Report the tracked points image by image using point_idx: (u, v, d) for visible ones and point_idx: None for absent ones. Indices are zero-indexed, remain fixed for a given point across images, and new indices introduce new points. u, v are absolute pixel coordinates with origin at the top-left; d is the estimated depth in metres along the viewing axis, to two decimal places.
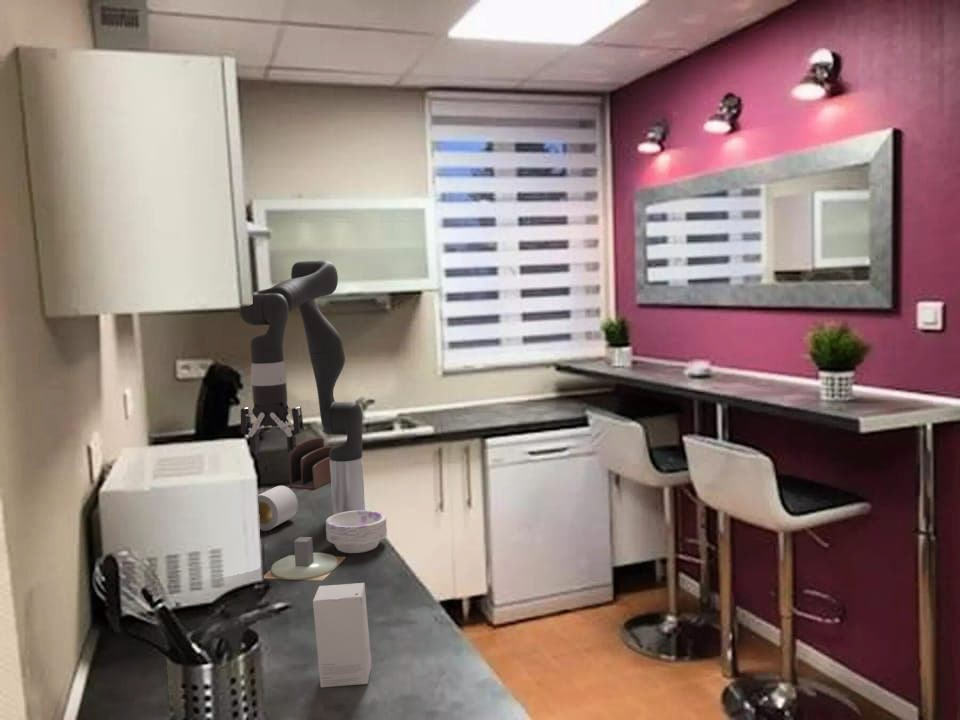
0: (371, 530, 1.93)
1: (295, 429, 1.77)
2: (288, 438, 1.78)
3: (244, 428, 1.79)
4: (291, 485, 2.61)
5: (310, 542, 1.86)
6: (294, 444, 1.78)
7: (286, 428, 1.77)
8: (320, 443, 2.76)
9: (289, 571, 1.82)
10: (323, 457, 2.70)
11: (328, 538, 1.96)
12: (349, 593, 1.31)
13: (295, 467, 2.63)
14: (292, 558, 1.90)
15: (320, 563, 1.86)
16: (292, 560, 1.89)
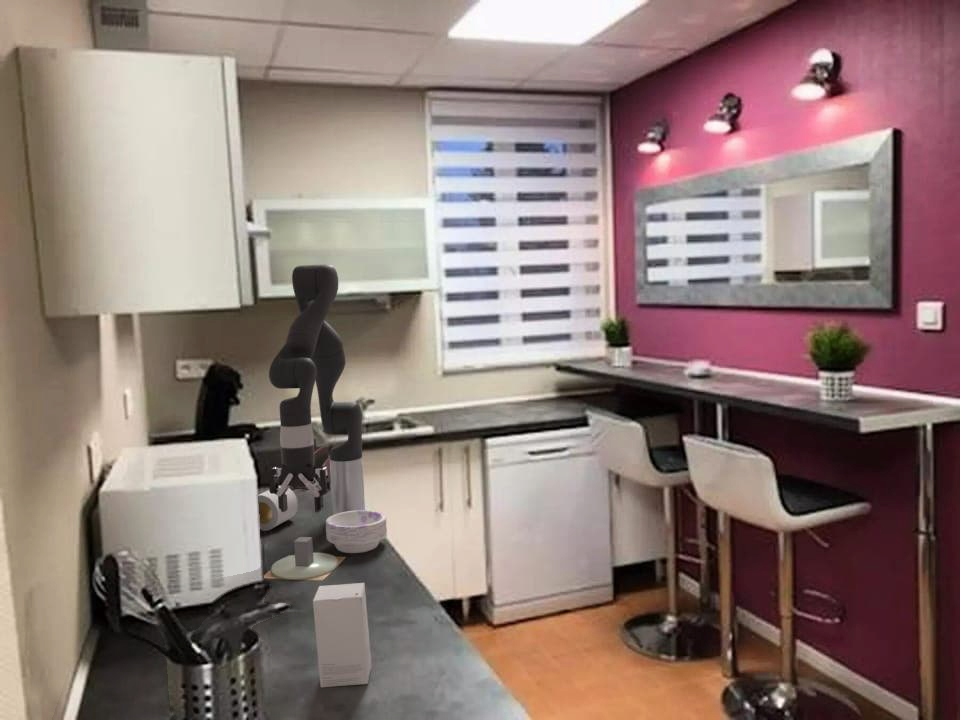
0: (371, 530, 1.93)
1: (322, 490, 1.82)
2: (315, 498, 1.82)
3: (272, 488, 1.84)
4: (298, 486, 2.60)
5: (310, 542, 1.86)
6: (321, 504, 1.83)
7: (313, 489, 1.82)
8: (314, 443, 2.76)
9: (289, 571, 1.82)
10: (322, 457, 2.71)
11: (328, 538, 1.96)
12: (349, 593, 1.31)
13: None
14: (292, 558, 1.90)
15: (320, 563, 1.86)
16: (292, 560, 1.89)
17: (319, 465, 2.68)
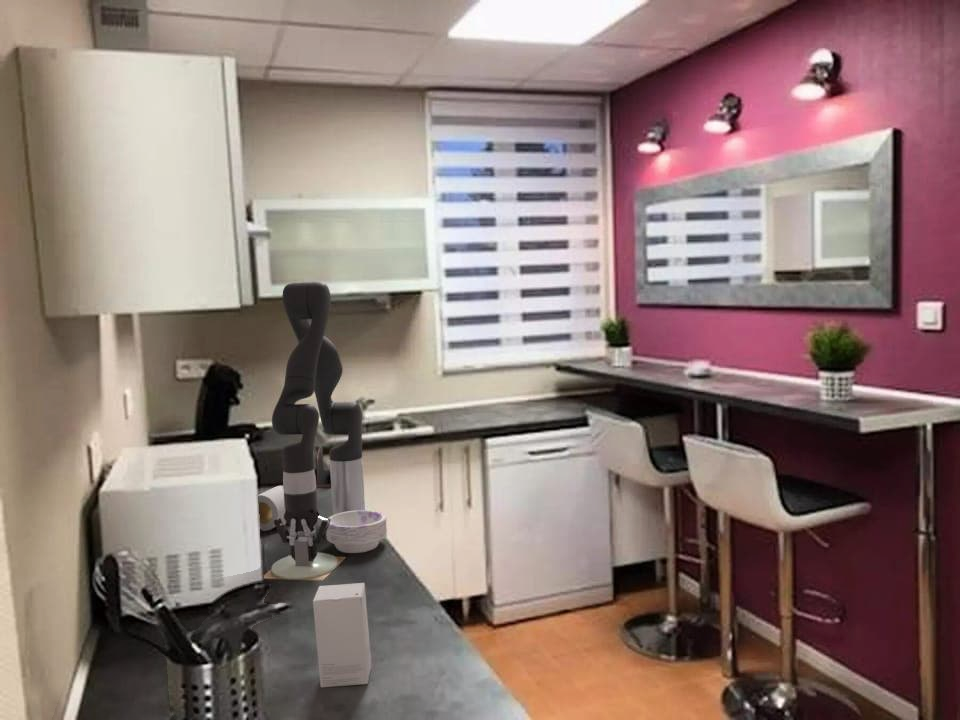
0: (371, 530, 1.93)
1: (317, 539, 1.83)
2: (309, 547, 1.84)
3: (285, 537, 1.85)
4: None
5: None
6: (315, 553, 1.85)
7: (309, 537, 1.84)
8: None
9: (289, 571, 1.82)
10: (320, 457, 2.71)
11: (328, 538, 1.96)
12: (349, 593, 1.31)
13: None
14: (292, 558, 1.90)
15: (320, 563, 1.86)
16: (292, 560, 1.89)
17: (320, 465, 2.68)
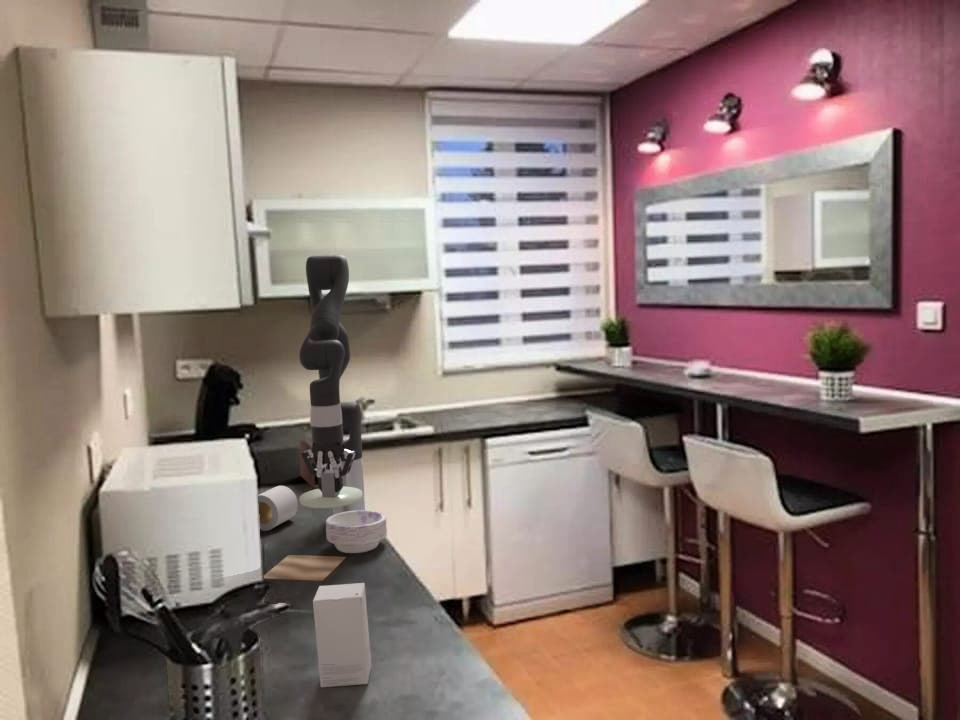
0: (371, 530, 1.93)
1: (343, 470, 1.90)
2: (335, 479, 1.91)
3: (312, 469, 1.92)
4: (315, 486, 2.59)
5: None
6: (341, 484, 1.92)
7: (336, 469, 1.90)
8: None
9: (316, 501, 1.88)
10: None
11: (328, 538, 1.96)
12: (349, 593, 1.31)
13: None
14: (319, 491, 1.97)
15: (346, 494, 1.93)
16: (319, 492, 1.95)
17: None
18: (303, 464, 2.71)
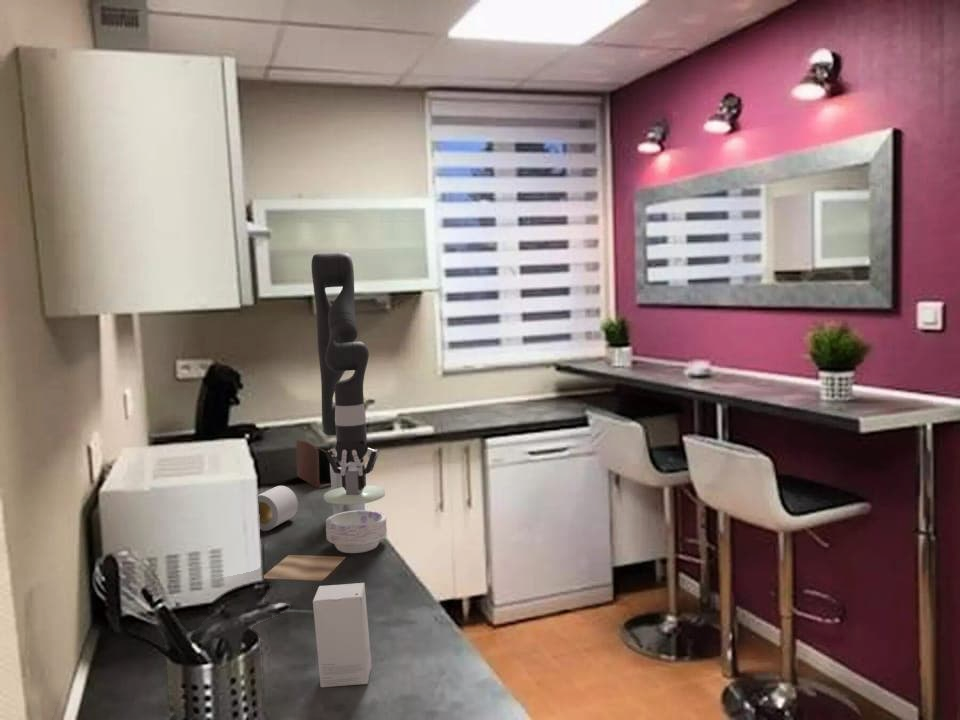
0: (371, 530, 1.93)
1: (366, 468, 1.96)
2: (359, 477, 1.97)
3: (337, 468, 1.97)
4: (320, 486, 2.59)
5: None
6: (364, 482, 1.97)
7: (359, 467, 1.96)
8: None
9: (341, 498, 1.94)
10: None
11: (328, 538, 1.96)
12: (349, 593, 1.31)
13: None
14: (342, 489, 2.02)
15: (369, 492, 1.98)
16: (342, 491, 2.01)
17: None
18: (302, 465, 2.70)
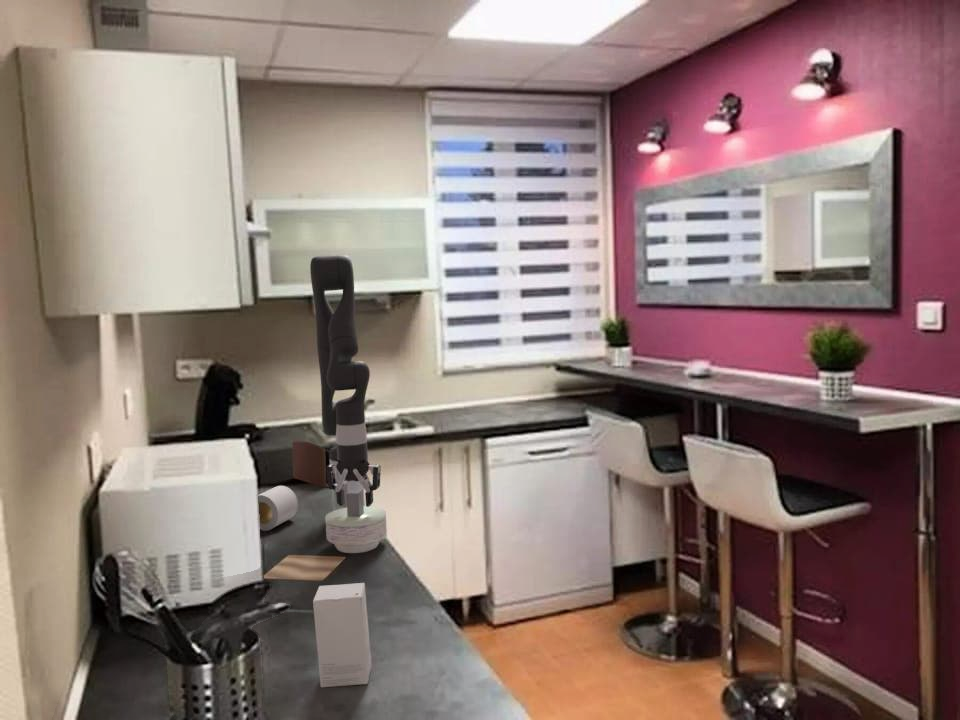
0: (371, 530, 1.93)
1: (373, 485, 1.96)
2: (366, 493, 1.97)
3: (331, 484, 1.98)
4: (326, 485, 2.60)
5: (361, 494, 1.99)
6: (371, 499, 1.97)
7: (365, 484, 1.96)
8: None
9: (342, 520, 1.94)
10: None
11: (328, 538, 1.96)
12: (350, 593, 1.31)
13: None
14: (343, 510, 2.03)
15: (370, 514, 1.99)
16: (343, 512, 2.01)
17: None
18: (301, 465, 2.69)
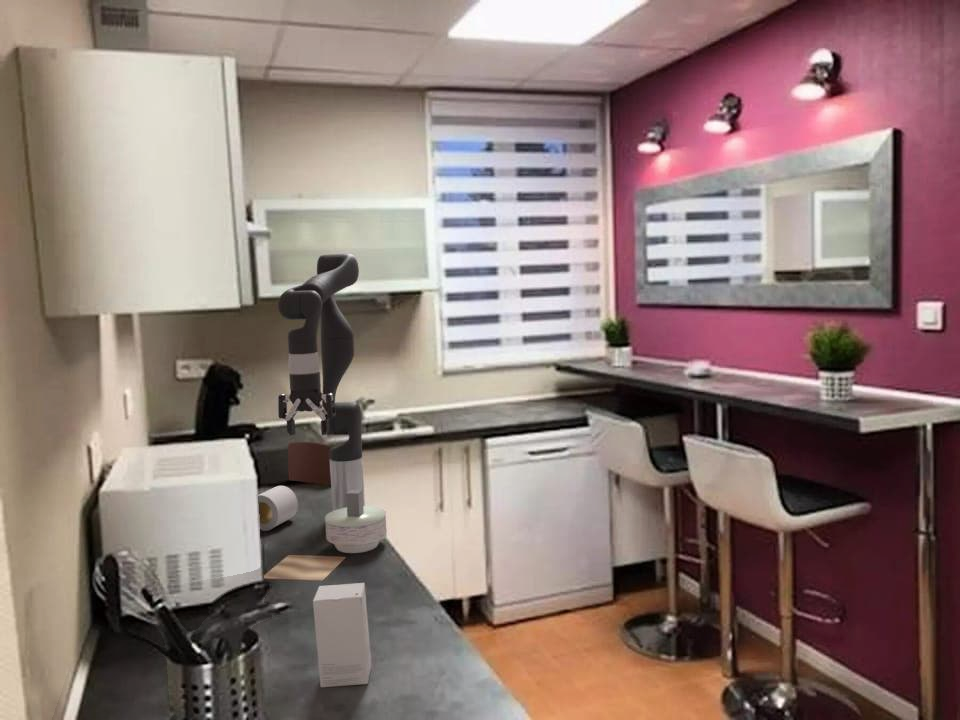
0: (371, 530, 1.93)
1: (328, 413, 1.95)
2: (322, 422, 1.96)
3: (281, 413, 1.97)
4: None
5: (361, 494, 1.99)
6: (327, 427, 1.97)
7: (320, 413, 1.96)
8: None
9: (342, 520, 1.95)
10: None
11: (328, 538, 1.96)
12: (349, 593, 1.31)
13: None
14: (342, 510, 2.03)
15: (370, 514, 1.99)
16: (343, 512, 2.02)
17: None
18: (300, 466, 2.68)
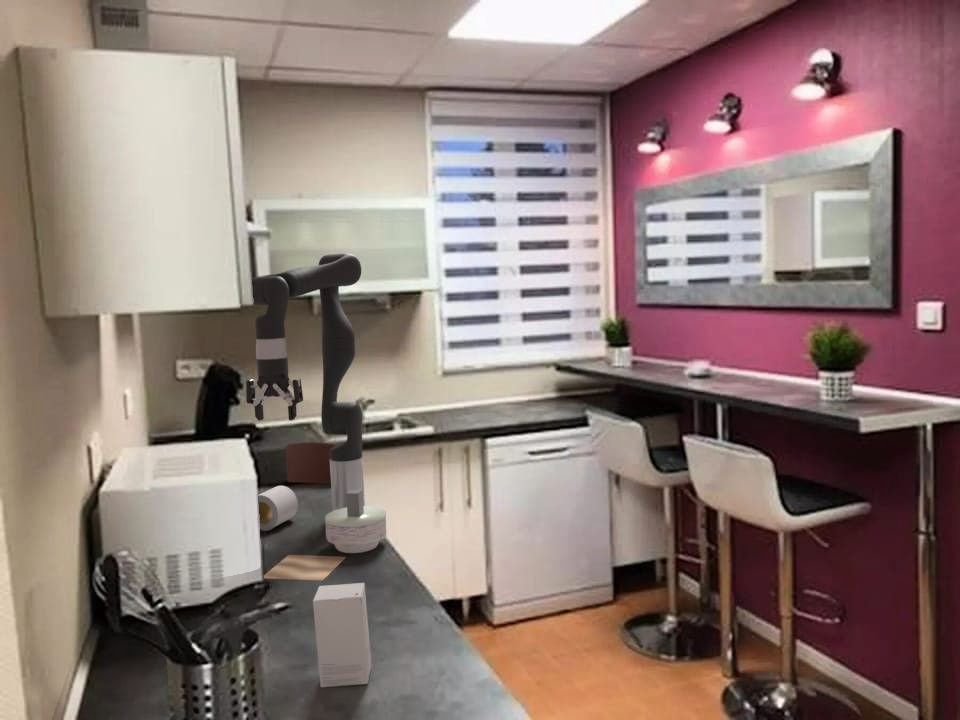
0: (371, 530, 1.93)
1: (295, 399, 1.96)
2: (289, 407, 1.97)
3: (249, 398, 1.99)
4: None
5: (361, 494, 1.99)
6: (294, 412, 1.98)
7: (287, 398, 1.97)
8: None
9: (342, 520, 1.95)
10: None
11: (328, 538, 1.96)
12: (349, 593, 1.31)
13: None
14: (343, 510, 2.03)
15: (370, 514, 1.99)
16: (343, 512, 2.02)
17: None
18: (301, 467, 2.66)
